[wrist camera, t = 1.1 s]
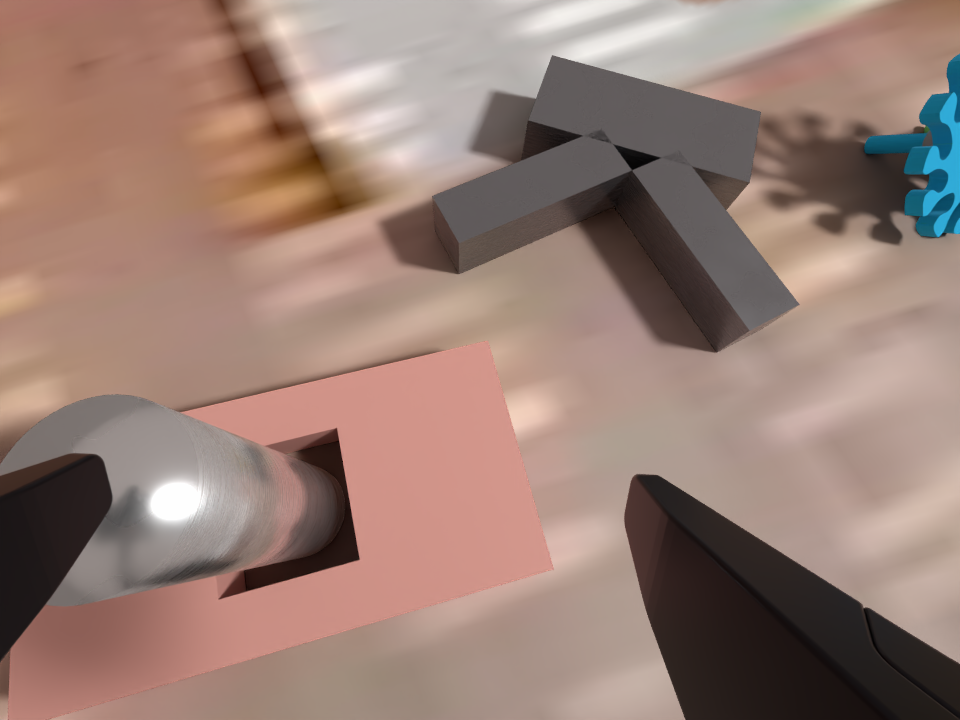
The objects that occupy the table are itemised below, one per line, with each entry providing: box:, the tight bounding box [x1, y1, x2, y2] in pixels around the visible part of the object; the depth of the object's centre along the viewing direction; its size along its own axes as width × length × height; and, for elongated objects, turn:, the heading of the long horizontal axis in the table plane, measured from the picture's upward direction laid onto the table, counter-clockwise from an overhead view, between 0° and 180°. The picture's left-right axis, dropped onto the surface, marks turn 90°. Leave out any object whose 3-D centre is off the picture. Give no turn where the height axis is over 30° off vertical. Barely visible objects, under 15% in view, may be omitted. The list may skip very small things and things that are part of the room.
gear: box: [864, 54, 960, 237], centre depth 27 cm, size 11×6×10 cm
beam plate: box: [8, 341, 554, 720], centre depth 21 cm, size 20×10×2 cm, turn 105°
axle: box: [0, 394, 345, 606], centre depth 16 cm, size 4×4×13 cm
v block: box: [432, 55, 800, 352], centre depth 26 cm, size 13×18×3 cm
